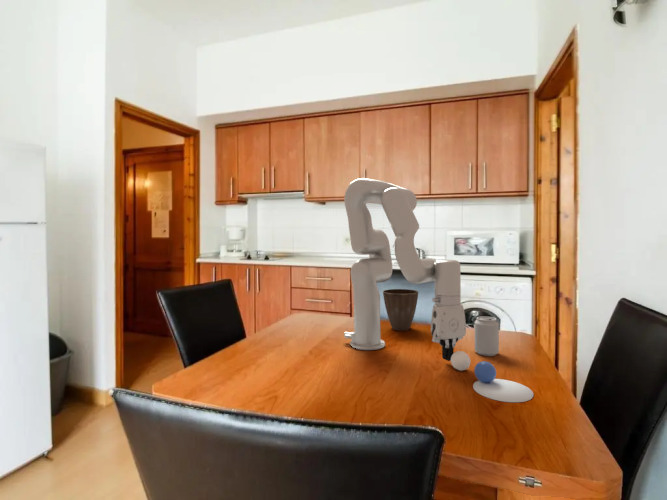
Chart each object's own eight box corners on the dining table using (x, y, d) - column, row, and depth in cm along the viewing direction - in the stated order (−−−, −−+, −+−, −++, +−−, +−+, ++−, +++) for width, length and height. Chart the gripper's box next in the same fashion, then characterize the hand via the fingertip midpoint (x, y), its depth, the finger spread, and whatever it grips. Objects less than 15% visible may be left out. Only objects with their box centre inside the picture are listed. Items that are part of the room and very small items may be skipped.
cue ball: (448, 352, 108) (451, 372, 107) (467, 351, 106) (471, 371, 105) (450, 351, 113) (453, 369, 112) (469, 349, 111) (472, 368, 110)
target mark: (471, 397, 91) (471, 396, 91) (474, 376, 104) (474, 375, 104) (536, 406, 85) (536, 405, 85) (530, 383, 98) (530, 382, 98)
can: (501, 357, 119) (501, 320, 119) (476, 356, 121) (476, 319, 120) (495, 350, 127) (495, 315, 126) (472, 349, 128) (472, 315, 128)
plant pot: (383, 323, 167) (382, 288, 166) (417, 324, 165) (416, 288, 164) (383, 332, 152) (382, 293, 151) (420, 333, 150) (420, 294, 149)
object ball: (466, 371, 101) (481, 377, 96) (477, 354, 102) (492, 360, 97) (478, 383, 102) (493, 389, 97) (488, 366, 104) (504, 372, 99)
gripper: (435, 304, 107) (435, 367, 108) (475, 300, 113) (475, 359, 113) (419, 300, 114) (420, 359, 115) (458, 296, 120) (458, 352, 120)
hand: (447, 359), depth 114 cm, fingers closed
